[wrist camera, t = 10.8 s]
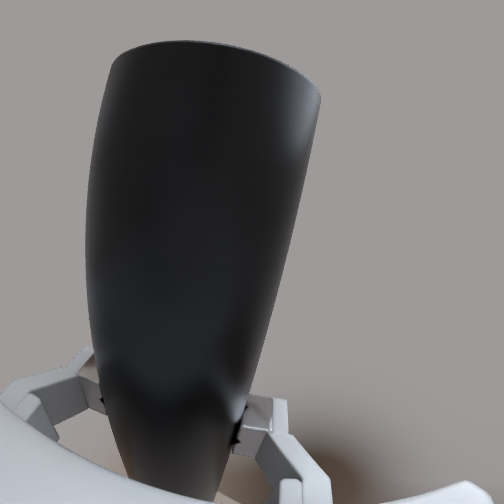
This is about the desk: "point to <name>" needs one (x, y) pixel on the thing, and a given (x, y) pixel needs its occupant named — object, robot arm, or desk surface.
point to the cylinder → (190, 245)
